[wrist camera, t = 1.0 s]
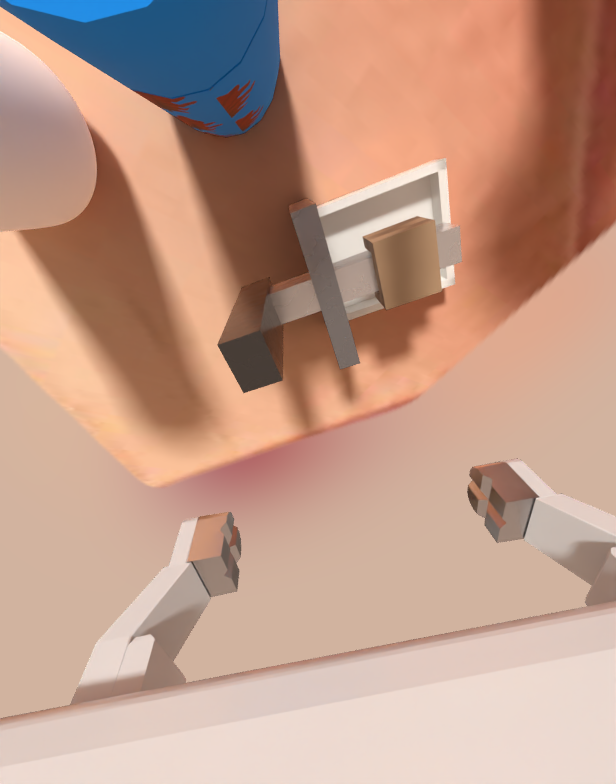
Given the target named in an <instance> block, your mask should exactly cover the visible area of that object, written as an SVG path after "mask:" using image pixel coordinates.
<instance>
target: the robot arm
mask: <svg viewBox="0 0 616 784" xmlns="http://www.w3.org/2000/svg"><path fill="white" fill-rule="evenodd" d="M469 475H470V477H471V479H472V481H471V483H470V484H469V485H468V491H467V493H468V498H469V501H470V503H471V505H472V507H473V509H474V510H475V512H476V513H477V514H478V515H480V516H482V517H484V518H485V526H486V528H487V529H488V531H489V532H490V533H491V535H492V536H493V538H494V539H495V541H496V542H497V543H499V542H505V541H511V540H518V539H524V540H525V541H526V542H528V543H529V544H531V545H533V546H534V547H535V548H537V549H538V550H540V551H541V552H543V553H544V554H546V555H547V556H549V557H550V558H552V559H553V560H555V561H556V562H558V563H559V564H560V565H562V566H564V567H565V568H567V569H568V570H569V571H571V572H572V573H574V574H575V575H577V576H578V577H580V578H581V579H583V580H584V581H586V582H587V583H589V584H590V585H592V586H591V588H590V590H589V592H588V595H587V597H586V601H585V603H586V605H587V607H582V608H577V609H571V610H566V611H561V612H556V613H551V614H545V615H540V616H535V617H529V618H524V619H519V620H513V621H508V622H503V623H497V624H492V625H487V626H482V627H476V628H471V629H466V630H460V631H455V632H450V633H445V634H439V635H434V636H429V637H424V638H418V639H413V640H408V641H403V642H397V643H392V644H387V645H382V646H376V647H371V648H366V649H361V650H355V651H350V652H345V653H340V654H335V655H329V656H324V657H319V658H313V659H308V660H303V661H298V662H292V663H288V664H282V665H277V666H271V667H266V668H261V669H256V670H251V671H245V672H240V673H235V674H230V675H224V676H219V677H214V678H209V679H203V680H199V681H193V682H188V683H186V678H185V677H184V675H183V674H182V672H181V671H180V670H179V669H178V667H177V666H176V665H175V664H174V662H173V661H174V659H175V658H176V656H177V654H178V653H179V651H180V649H181V648H182V646H183V644H184V643H185V641H186V639H187V638H188V636H189V634H190V633H191V631H192V629H193V628H194V626H195V624H196V623H197V621H198V619H199V618H200V616H201V614H202V613H203V611H204V609H205V608H206V606H207V604H208V603H209V601H210V599H211V598H210V597H213V596H218V595H223V594H227V593H232V592H237V589H238V578H239V568H238V566H237V564H236V563H237V562H238V560H239V559H240V557H241V538H240V533H239V530H238V528H237V527H235V526H234V525H233V524H234V518H233V515H232V513H231V512H225V513H219V514H213V515H206V516H200V517H195V518H189V519H185V520H184V521H183V523H182V524H181V528H180V531H179V534H178V537H177V540H176V544H175V547H174V550H173V553H172V557H171V560H170V563H169V566H168V567H164V568H163V569H162V570H161V571H160V572H159V573H158V574H157V576H156V577H155V578H154V579H153V580H152V581H151V582H150V583H149V585H148V586H147V587H146V588H145V589H144V590H143V591H142V592H141V593H140V595H139V596H138V597H137V598H136V599H135V600H134V601H133V602H132V603H131V605H130V606H129V607H128V608H127V609H126V610H125V611H124V612H123V614H122V615H121V616H120V617H119V618H118V619H117V620H116V621H115V622H114V624H113V625H112V626H111V627H110V628H109V629H108V630H107V631H106V633H105V634H104V635H103V636H102V637H101V638H100V639H99V640H98V641H97V643H96V645H95V647H94V650H93V652H92V654H91V656H90V659H89V661H88V664H87V666H86V668H85V671H84V673H83V676H82V678H81V680H80V683H79V685H78V687H77V690H76V692H75V694H74V697H73V699H72V702H71V704H70V705H68V706H62V707H57V708H52V709H46V710H41V711H36V712H30V713H26V714H20V715H15V716H9V717H4V718H0V784H616V516H613V515H611V514H609V513H606V512H604V511H602V510H600V509H597V508H595V507H592V506H590V505H588V504H585V503H583V502H581V501H578V500H576V499H574V498H571V497H569V496H567V495H564V494H557V493H555V492H554V491H553V490H552V489H551V488H550V487H549V486H548V485H547V484H546V483H545V482H544V481H543V480H542V479H541V478H540V477H538V475H536V473H534V472H533V471H532V470H531V469H530V468H529V467H528V466H527V465H526V464H525V463H524V462H523V461H522V460H520V459H518V458H516V459H511V460H506V461H502V462H495V463H489V464H485V465H479V466H474V467H472V468H471V470H470V474H469Z"/></svg>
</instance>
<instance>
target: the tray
mask: <svg viewBox="0 0 616 784" xmlns="http://www.w3.org/2000/svg"><path fill="white" fill-rule="evenodd" d="M317 210H318V213H319V217H320V220H321V224H322V228H323V231H324V235H325V238H326V242H327V246H328V249H329V253H330V256H331V260H332V263H334V262H337V261H340V260H343V259H345V258H348V257H351V256H353V255H356V254H359V253H362V252H364V251H367V249H366V248H365V246H364V242H363V237H362V236H365V235H368V234H370V233H373V232H376V231H379V230H381V229H384V228H387V227H389V226H392V225H395V224H397V223H400V222H403V221H405V220H408V219H411V218H413V217H416V216H419V217H423V218H428V219H432V220H435V224H436V225H438V224H441V223H443V222H446V223H451V221H450V207H449V193H448V180H447V166H446V158H443V159H437V160H432V161H430V162H427V163H425V164H422V165H420V166H417V167H415V168H412V169H410V170H407V171H404V172H402V173H399V174H397V175H394V176H392V177H389V178H387V179H384V180H382V181H379V182H377V183H374V184H371V185H369V186H366V187H364V188H361V189H359V190H356V191H354V192H351V193H349V194H346V195H343V196H341V197H338V198H336V199H333V200H331V201H328V202H326V203H323V204H321V205H318V206H317ZM440 276H441V286H442V288H445V287H448V286H451V285H454V284H455V275H454V265H451V266H448V267H446V268H443V269H440ZM344 307H345V310H346V314H347V318H348V320H351V319H354V318H357V317H360V316H363V315H366V314H369V313H372V312H375V311H378V310H381V309H384V307H383V306H382V304H381V303H380V302H379V301H378V299H377V298H376V297H375V292H374V293H371V294H368V295H365V296H362V297H359V298H357V299H354V300H351V301H348V302H345V303H344Z"/></svg>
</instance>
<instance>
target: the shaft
mask: <svg viewBox="0 0 616 784" xmlns="http://www.w3.org/2000/svg"><path fill="white" fill-rule="evenodd" d="M436 235H437V245H438V255H439V265H440V269H443V268H446V267H448V266H451V265H454V264H457V263H460V262H462V256H461V239H460V226H459V225H455V224H451V223H446V222H443V223H441V224H438V225H436ZM332 264H333V267H334V271H335V274H336V278H337V282H338V285H339V289H340V292H341V296H342V300H343V303H345V302H348V301H351V300H354V299H357V298H359V297H362V296H365V295H368V294H371V293H374V292H377V291H379V288H378V284H377V279H376V274H375V269H374V265H373V260H372V255H371V252H369V251H368V250H367V251H364V252H362V253H359V254H356V255H353V256H351V257H348V258H345V259H343V260H340V261H337V262H334V263H332ZM319 311H321V308H320V305H319V302H318V299H317V296H316V293H315V290H314V286H313V283H312V280H311V277H310V274H309V272H307V273H304V274H302V275H299V276H296V277H293V278H291V279H288V280H285V281H283V282H280V283H277V284H274V285H272V283H271V280H270V278H269V277H268V278H266V279H263V280H260V281H258V282H255V283H252V284H250V285H247V286H244V287H242V288H241V291H240V293H239V295H238V298H237V300H236V303H235V305H234V307H233V310H232V312H231V314H230V317H229V319H228V321H227V324H226V326H225V328H224V331H223V333H222V336H221V338H220V340H219V343H218V347H219V349H220V351H221V352H222V354H223V356H224V358H225V360H226V362H227V363H228V365H229V367H230V369H231V371H232V373H233V374H234V376H235V378H236V380H237V382H238V384H239V385H240V387H241V389H242V391H243V393H245V392H248V391H251V390H255V389H258V388H261V387H264V386H267V385H270V384H273V383H276V382H279V381H282V380H283V324H285V323H288V322H290V321H293V320H296V319H299V318H302V317H305V316H308V315H311V314H313V313H316V312H319Z"/></svg>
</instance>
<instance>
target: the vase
mask: <svg viewBox="0 0 616 784" xmlns="http://www.w3.org/2000/svg"><path fill="white" fill-rule="evenodd" d="M96 179H97V161H96V154H95V149H94V144H93V141H92V137H91V134H90V131H89V129H88V126H87V124H86V121H85V119H84V117H83V115H82V113H81V111H80V109H79V107H78V106H77V104H76V102H75V101H74V99H73V97H72V96H71V94H70V93H69V91H68V90H67V89H66V87H65V86H64V85H63V83H62V82H61V81H60V80H59V78H58V77H57V76H56V75H55V74H54V73H53V71H52V70H51V69H50V68H49V67H48V66H47V65H46V64H45V63H44V62H43V61H42V60H40V59H39V58H38V57H37V56H36V55H35V54H33V53H32V52H31V51H30V50H28V49H27V48H26V47H24V46H23V45H22V44H20V43H19V42H17V41H16V40H14V39H12V38H11V37H9V36H8V35H6V34H4V33H2V32H0V232H2V231H16V230H28V229H38V228H47V227H53V226H57V225H61V224H64V223H66V222H69V221H71V220H72V219H74V218H76V217H77V216H78V215H79V214H81V213H82V212H83V211H84V209H85V208H86V207H87V205H88V204H89V202H90V200H91V198H92V196H93V193H94V189H95V185H96Z"/></svg>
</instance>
